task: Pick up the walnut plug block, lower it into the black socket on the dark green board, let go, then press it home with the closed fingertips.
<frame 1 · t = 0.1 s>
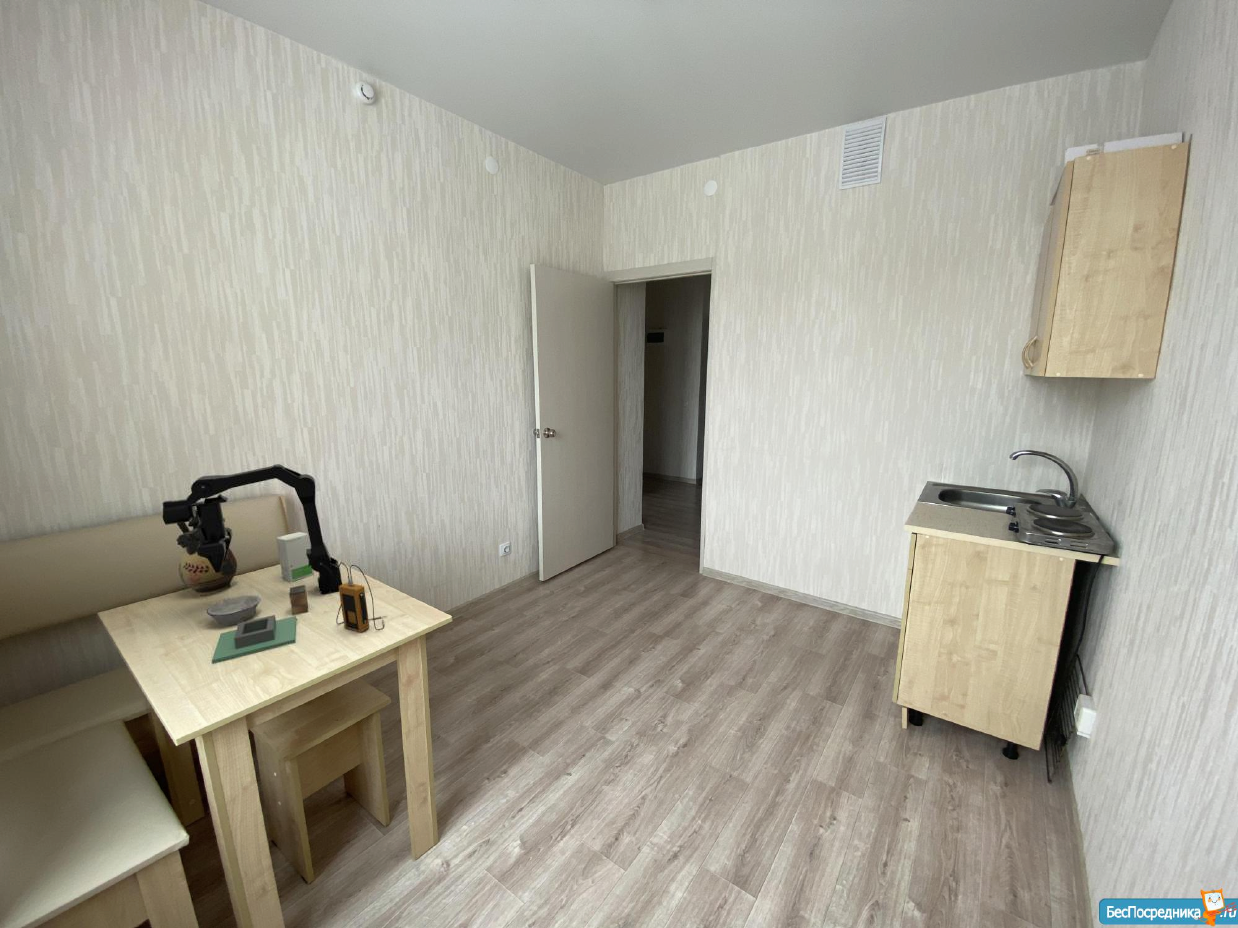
hand: (220, 567, 156), 15 cm above the table, fingers open, 9 cm apart
plug: (300, 610, 159), on the table
bowl: (236, 619, 155), on the table
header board: (257, 639, 142), on the table
multimeter: (367, 623, 149), on the table
ceramic jug: (210, 591, 175), on the table
skincare box: (298, 577, 185), on the table
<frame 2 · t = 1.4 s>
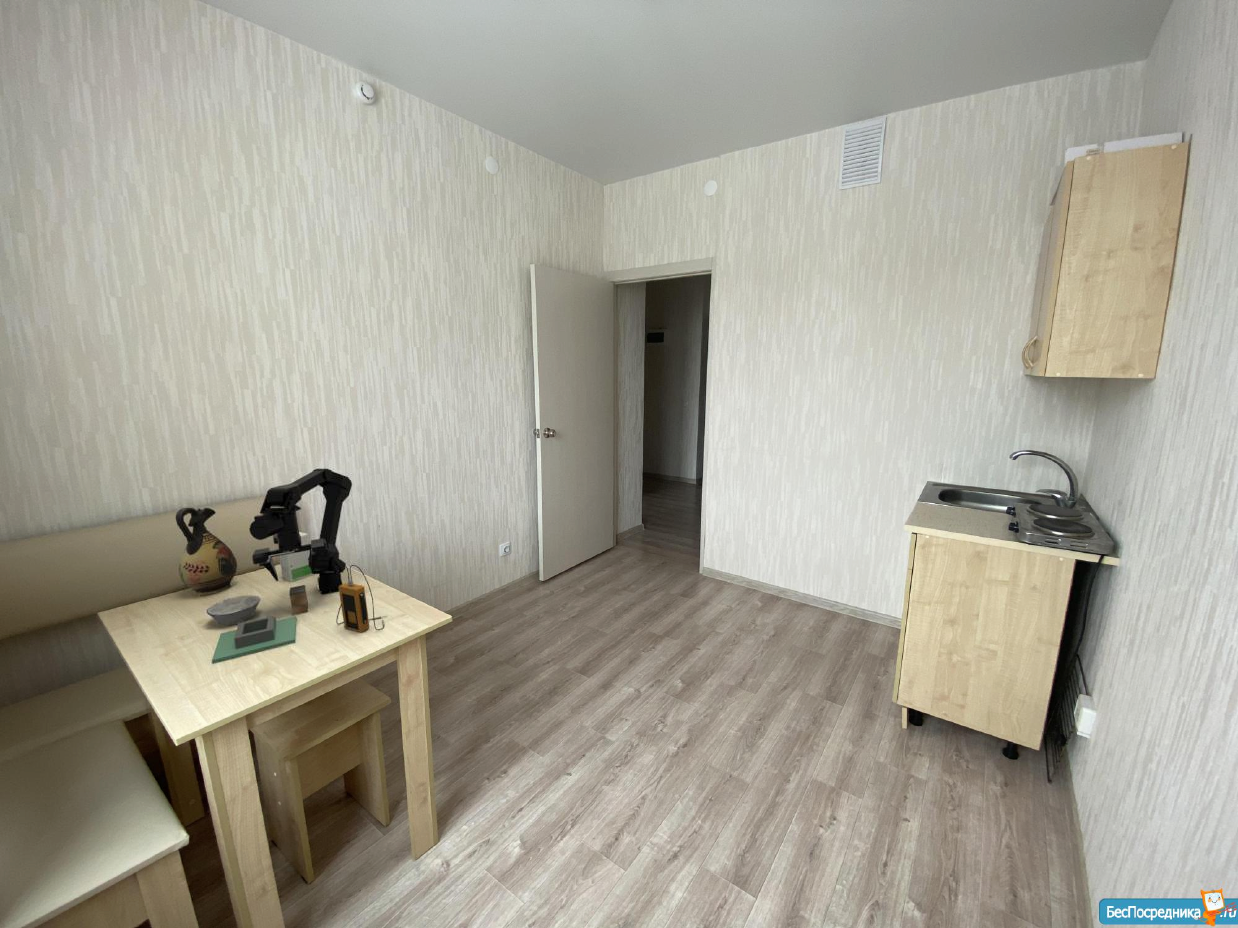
hand: (295, 577, 157), 11 cm above the table, fingers open, 9 cm apart
nothing on the table moved.
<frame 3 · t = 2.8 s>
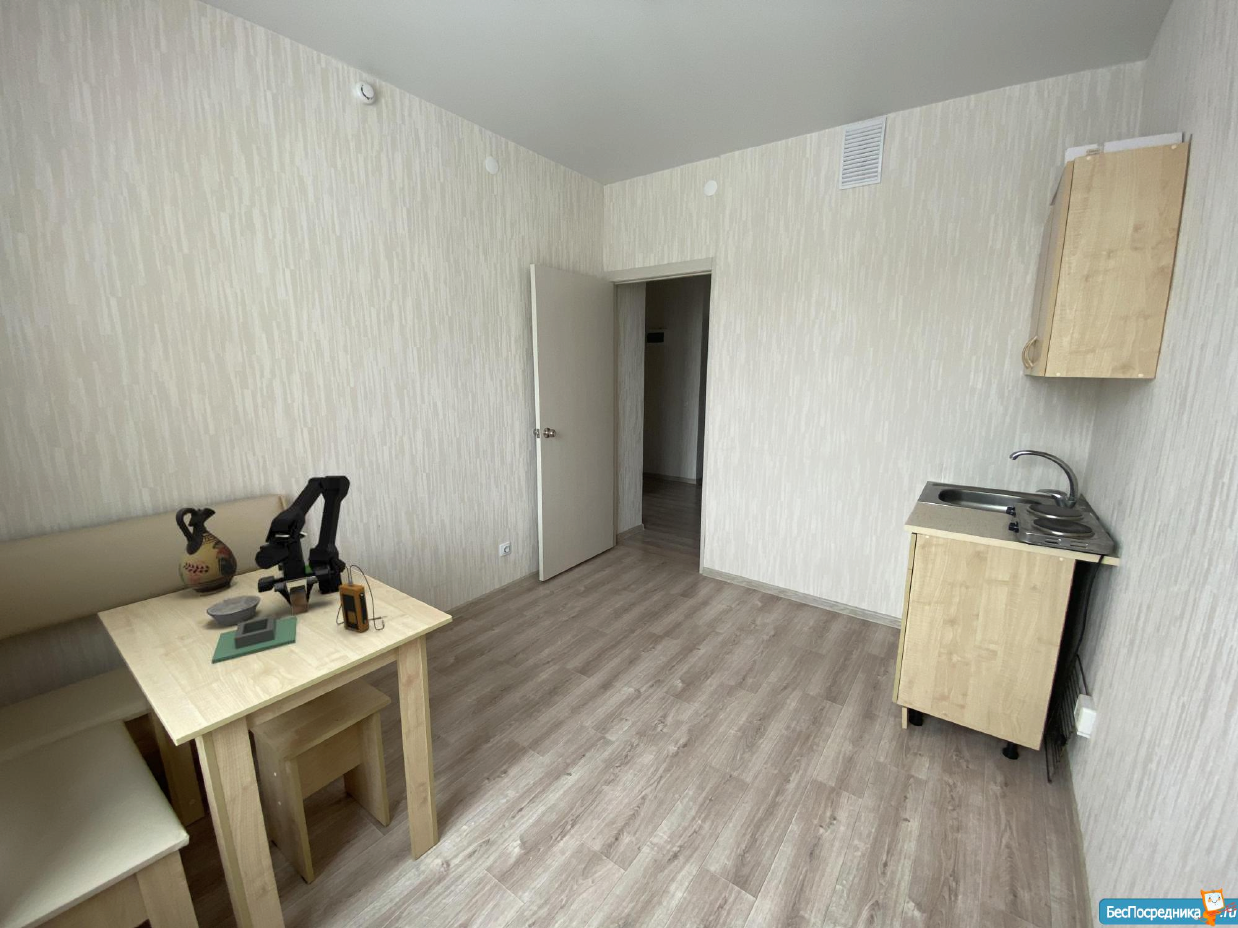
hand: (299, 604, 158), 2 cm above the table, fingers closed on plug, 4 cm apart
plug: (300, 610, 159), on the table, touching gripper
everything else where it was.
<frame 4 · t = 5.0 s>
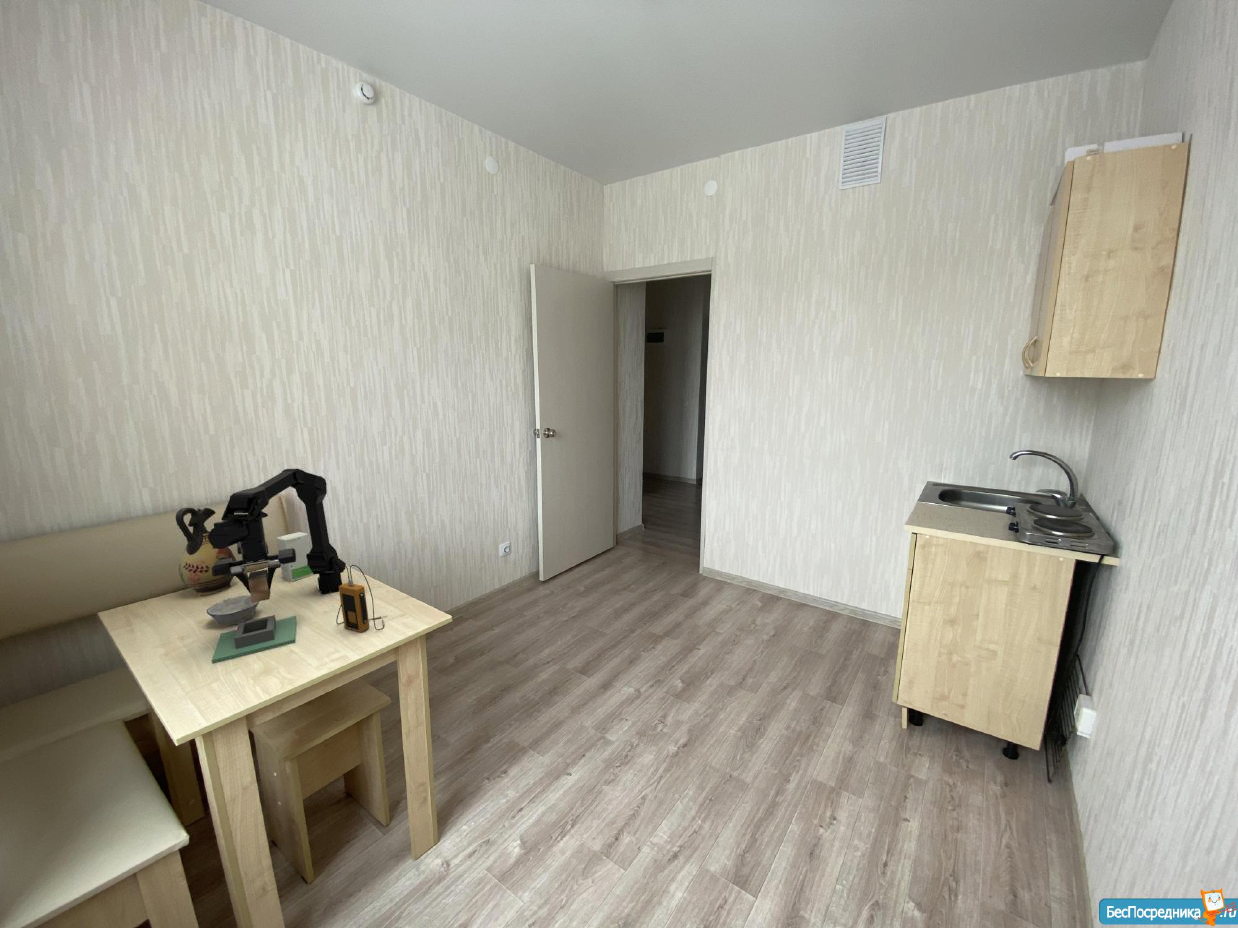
hand: (260, 590, 143), 13 cm above the table, fingers closed on plug, 4 cm apart
plug: (261, 597, 143), point 11 cm above the table, touching gripper
everything else where it was.
when the fingers open (4 cm above the table, at t = 7.4 s): plug drops 1 cm, resting on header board.
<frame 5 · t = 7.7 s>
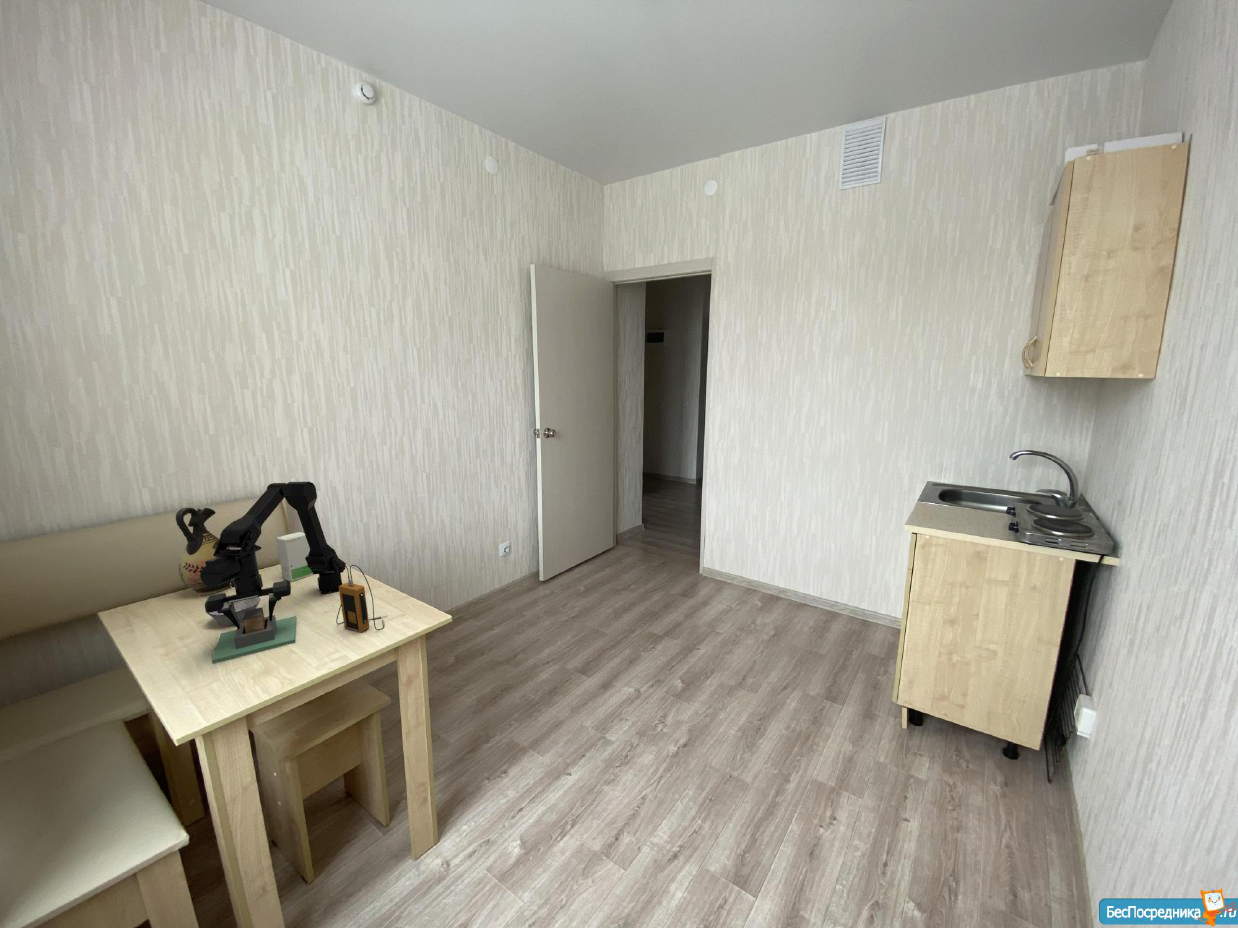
hand: (255, 624, 141), 4 cm above the table, fingers open, 7 cm apart
plug: (257, 636, 142), point 1 cm above the table, touching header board
everything else where it was.
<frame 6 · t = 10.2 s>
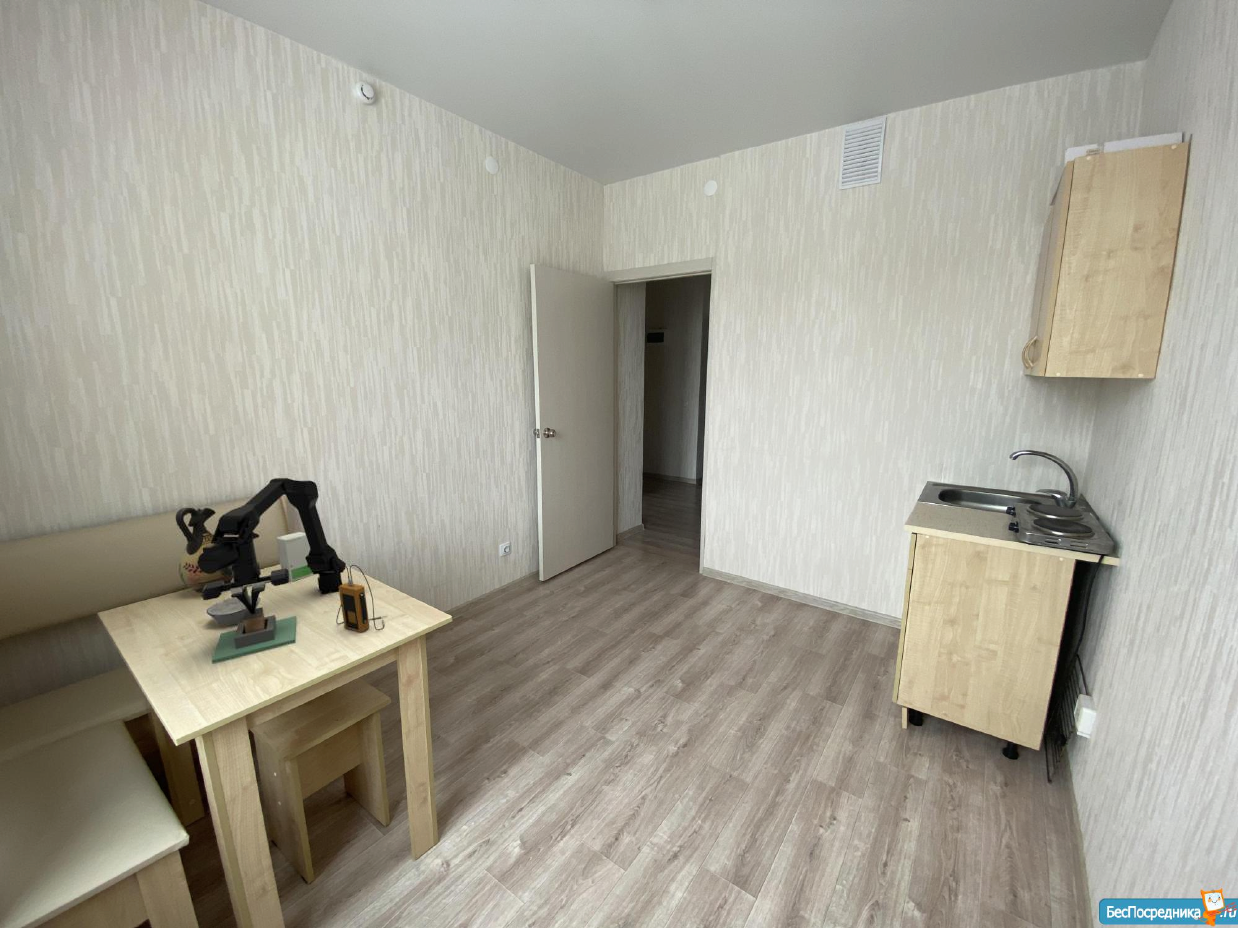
hand: (253, 612, 140), 8 cm above the table, fingers closed, pressing on plug
plug: (257, 636, 142), point 1 cm above the table, touching gripper, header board
everything else where it was.
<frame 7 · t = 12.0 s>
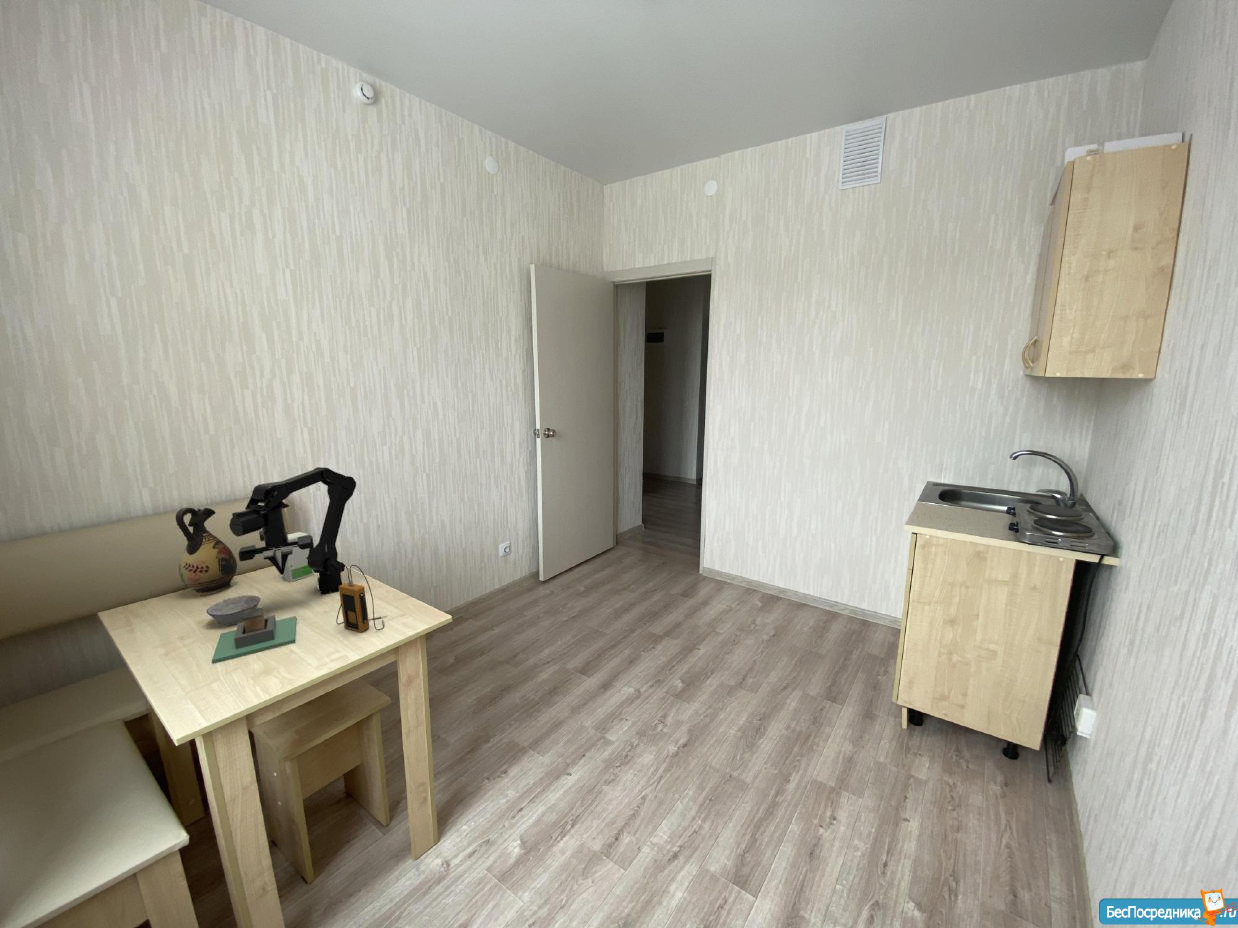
hand: (282, 573, 157), 12 cm above the table, fingers closed
plug: (257, 636, 142), point 1 cm above the table, touching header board
everything else where it was.
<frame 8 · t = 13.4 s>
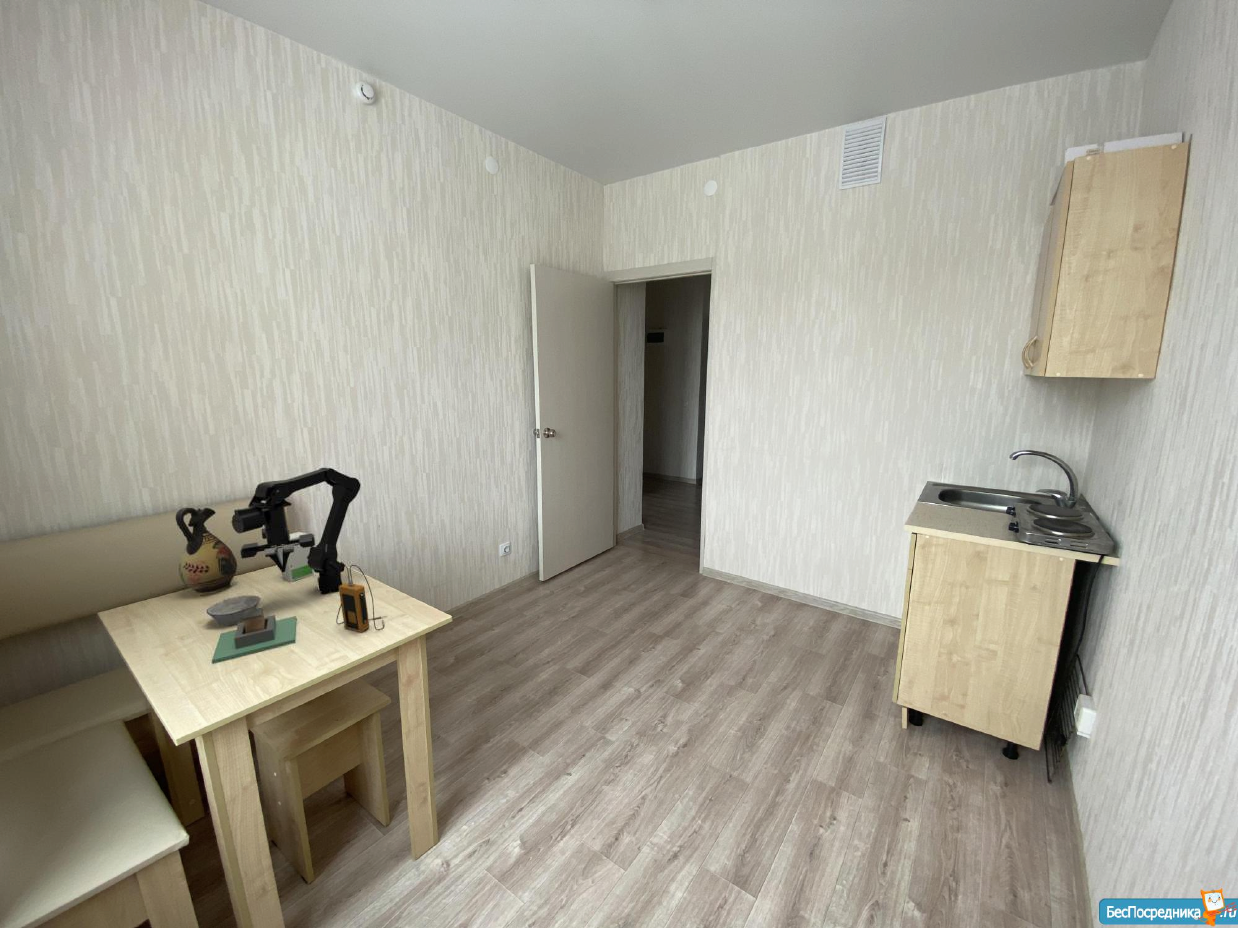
hand: (283, 571, 158), 12 cm above the table, fingers closed
nothing on the table moved.
at the end: plug 0.0 cm off-centre on the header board, point 1.0 cm above the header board's base; plug tilted 0°; the gripper is holding nothing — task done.
